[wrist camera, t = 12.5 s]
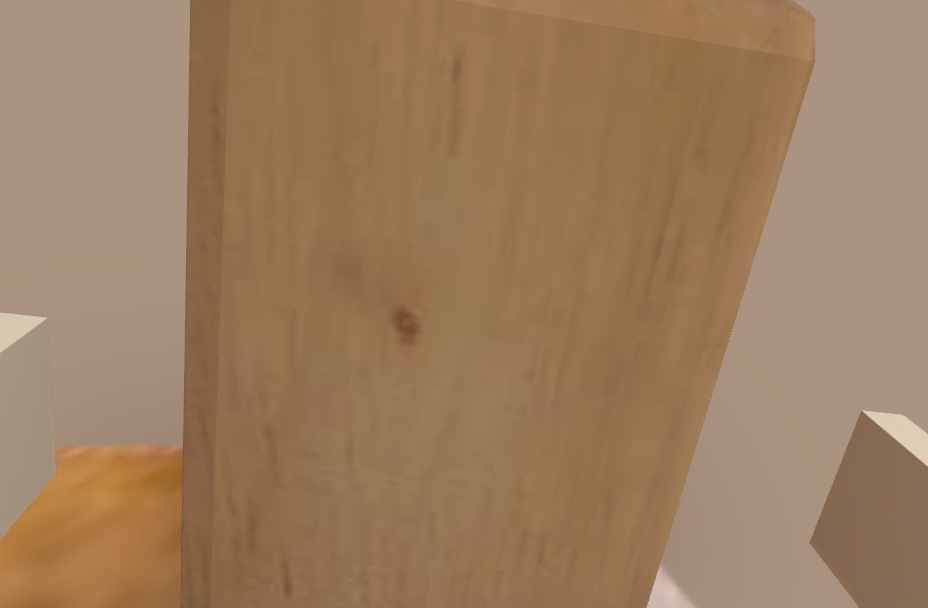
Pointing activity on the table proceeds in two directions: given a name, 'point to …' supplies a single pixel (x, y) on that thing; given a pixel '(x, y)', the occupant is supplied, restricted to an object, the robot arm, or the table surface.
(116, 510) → the table surface
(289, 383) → the wooden block
